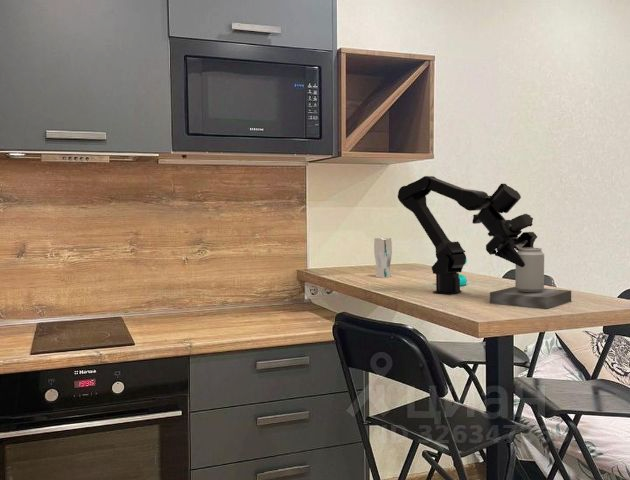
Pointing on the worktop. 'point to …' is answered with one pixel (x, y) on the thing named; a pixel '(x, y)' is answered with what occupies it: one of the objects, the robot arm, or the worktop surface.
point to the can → (530, 270)
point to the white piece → (383, 256)
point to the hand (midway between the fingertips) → (531, 265)
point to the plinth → (531, 298)
